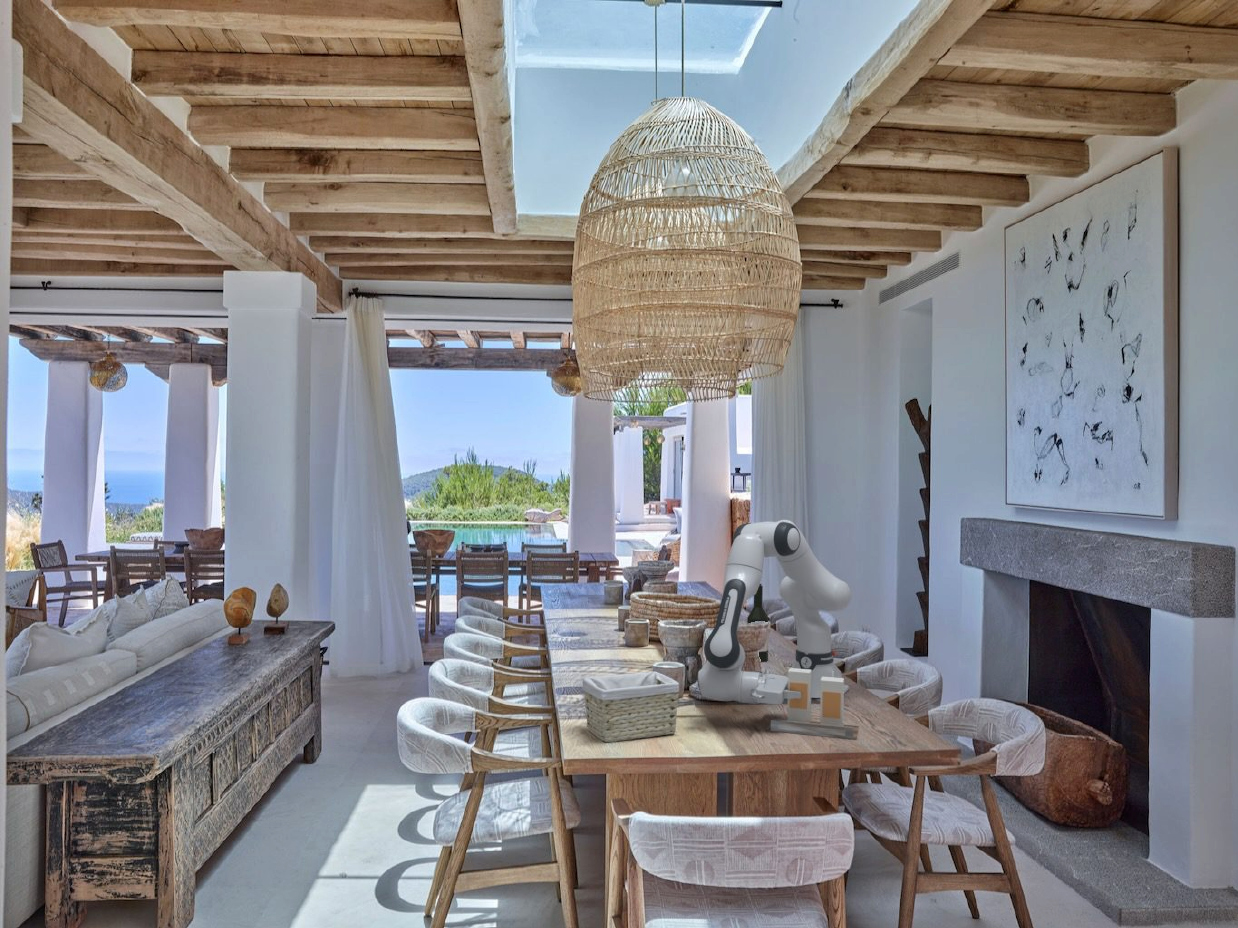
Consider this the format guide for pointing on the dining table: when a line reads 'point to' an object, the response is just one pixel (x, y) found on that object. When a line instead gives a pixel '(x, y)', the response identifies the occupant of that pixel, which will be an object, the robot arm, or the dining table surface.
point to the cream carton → (802, 707)
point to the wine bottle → (759, 619)
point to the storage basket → (631, 705)
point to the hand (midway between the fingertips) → (802, 692)
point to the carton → (832, 701)
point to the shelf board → (814, 729)
